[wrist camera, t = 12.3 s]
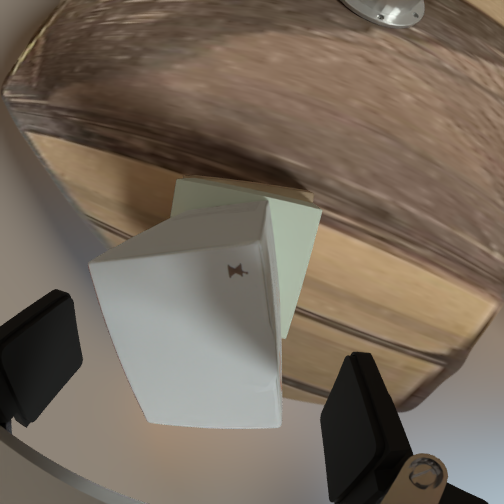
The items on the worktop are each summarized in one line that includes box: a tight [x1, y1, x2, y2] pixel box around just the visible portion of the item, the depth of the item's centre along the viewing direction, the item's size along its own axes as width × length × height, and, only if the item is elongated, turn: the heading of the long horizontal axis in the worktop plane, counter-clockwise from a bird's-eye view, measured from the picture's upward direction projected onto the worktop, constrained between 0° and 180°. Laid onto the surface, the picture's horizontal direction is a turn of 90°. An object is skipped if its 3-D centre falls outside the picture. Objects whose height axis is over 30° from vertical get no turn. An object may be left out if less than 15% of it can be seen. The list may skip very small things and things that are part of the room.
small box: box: [88, 200, 282, 429], centre depth 16 cm, size 8×6×13 cm
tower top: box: [170, 178, 322, 339], centre depth 25 cm, size 11×11×5 cm
